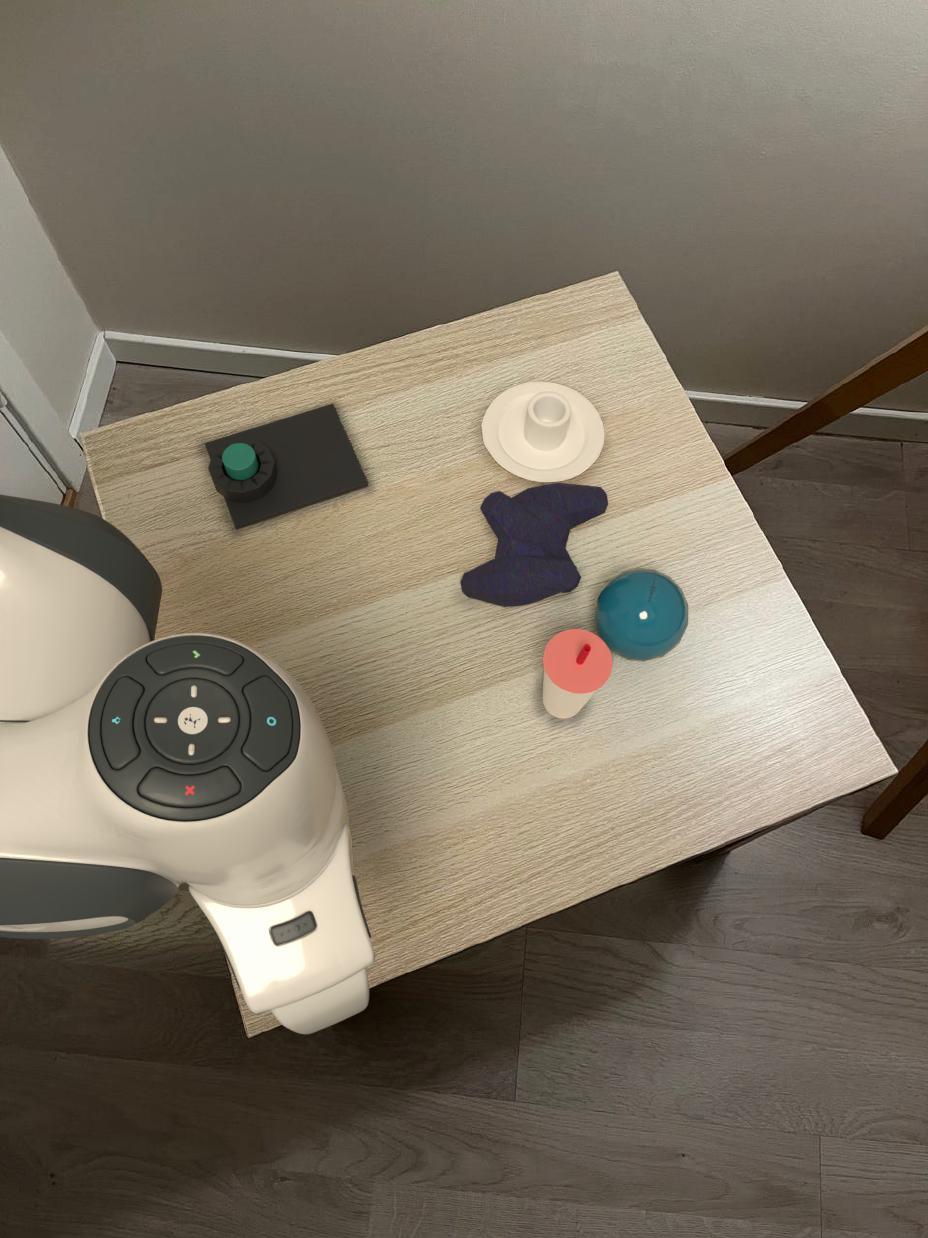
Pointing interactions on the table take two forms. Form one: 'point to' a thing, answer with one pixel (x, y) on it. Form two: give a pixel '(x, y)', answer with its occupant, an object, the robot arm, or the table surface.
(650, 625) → the ball
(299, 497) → the black button base plate
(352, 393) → the table surface
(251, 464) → the button
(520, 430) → the candle holder
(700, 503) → the table surface
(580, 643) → the cup
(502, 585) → the tetrapod
